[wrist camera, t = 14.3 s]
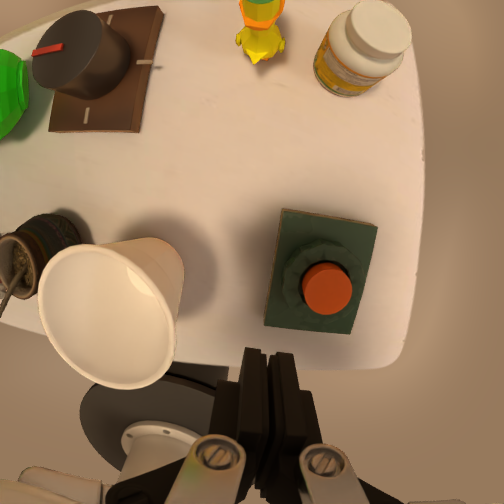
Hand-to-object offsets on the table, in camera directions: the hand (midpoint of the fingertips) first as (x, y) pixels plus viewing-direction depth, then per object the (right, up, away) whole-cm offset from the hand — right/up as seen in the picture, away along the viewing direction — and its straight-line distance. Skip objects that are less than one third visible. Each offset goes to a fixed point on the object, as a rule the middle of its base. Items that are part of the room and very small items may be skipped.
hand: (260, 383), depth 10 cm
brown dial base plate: (-14, +21, +12) cm, 28 cm away
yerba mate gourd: (-19, +5, +16) cm, 26 cm away
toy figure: (+1, +22, +12) cm, 25 cm away
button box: (+5, +3, +16) cm, 18 cm away
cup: (-9, +3, +17) cm, 20 cm away
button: (+5, +2, +13) cm, 15 cm away
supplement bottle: (+7, +20, +12) cm, 25 cm away
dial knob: (-14, +21, +10) cm, 27 cm away
